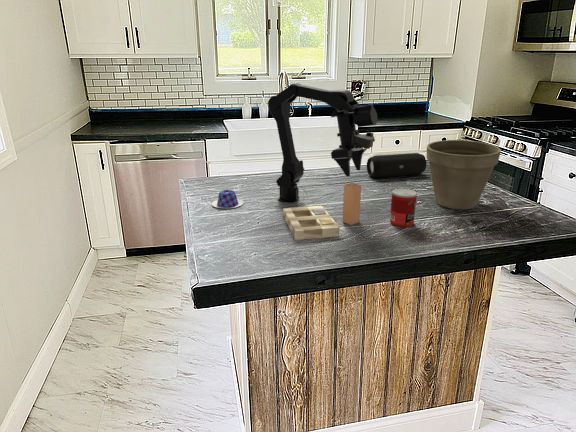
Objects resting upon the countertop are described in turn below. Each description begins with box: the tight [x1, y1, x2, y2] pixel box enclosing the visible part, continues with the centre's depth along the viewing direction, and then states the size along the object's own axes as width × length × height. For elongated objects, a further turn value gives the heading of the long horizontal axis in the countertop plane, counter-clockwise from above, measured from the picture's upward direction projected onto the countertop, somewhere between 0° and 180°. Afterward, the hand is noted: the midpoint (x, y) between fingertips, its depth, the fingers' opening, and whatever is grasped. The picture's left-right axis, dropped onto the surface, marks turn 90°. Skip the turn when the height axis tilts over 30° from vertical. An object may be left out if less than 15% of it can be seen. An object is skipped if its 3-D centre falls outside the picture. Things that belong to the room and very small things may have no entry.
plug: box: [341, 182, 362, 226], centre depth 149 cm, size 4×4×13 cm
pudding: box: [211, 189, 245, 209], centre depth 168 cm, size 12×12×5 cm
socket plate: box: [282, 205, 341, 241], centre depth 147 cm, size 20×14×3 cm
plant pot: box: [426, 139, 502, 210], centre depth 164 cm, size 25×25×22 cm
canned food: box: [389, 188, 418, 228], centre depth 148 cm, size 8×8×11 cm
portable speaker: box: [366, 152, 427, 179], centre depth 202 cm, size 26×10×10 cm, turn 103°
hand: (353, 173), depth 156 cm, fingers open, 9 cm apart
